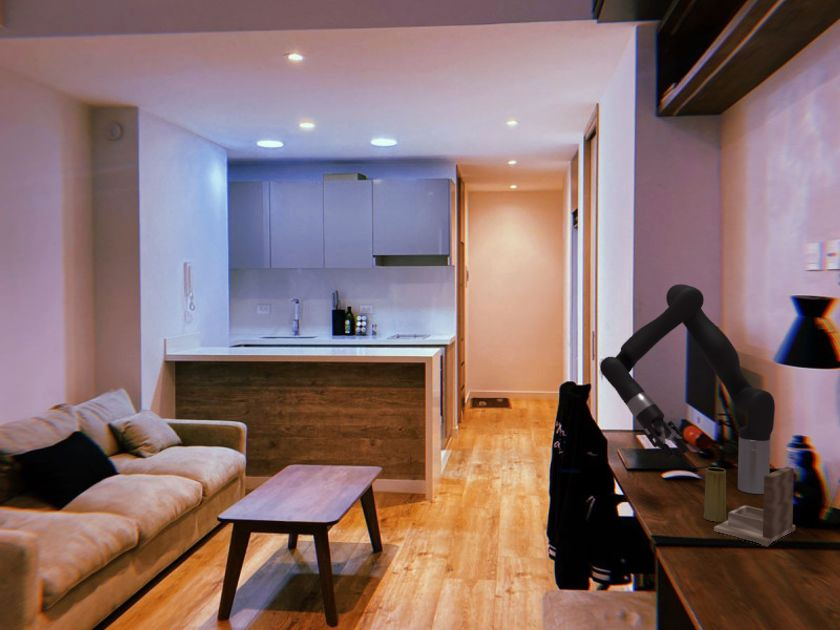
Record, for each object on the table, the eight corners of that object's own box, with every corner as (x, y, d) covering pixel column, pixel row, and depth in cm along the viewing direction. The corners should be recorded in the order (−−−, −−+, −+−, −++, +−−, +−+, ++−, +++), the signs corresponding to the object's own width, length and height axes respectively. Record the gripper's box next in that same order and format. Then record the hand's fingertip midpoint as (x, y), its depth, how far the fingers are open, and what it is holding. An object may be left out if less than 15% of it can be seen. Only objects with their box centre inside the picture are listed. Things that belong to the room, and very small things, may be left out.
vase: (725, 516, 203) (726, 467, 203) (727, 523, 197) (728, 473, 197) (702, 514, 205) (703, 466, 205) (704, 521, 199) (705, 471, 199)
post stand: (743, 517, 202) (744, 457, 202) (795, 530, 192) (796, 467, 191) (713, 532, 190) (715, 468, 190) (767, 546, 180) (768, 478, 179)
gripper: (640, 405, 210) (675, 450, 202) (665, 400, 220) (699, 443, 212) (624, 420, 214) (658, 465, 206) (649, 415, 224) (682, 457, 216)
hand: (679, 454), depth 209 cm, fingers open, 8 cm apart
